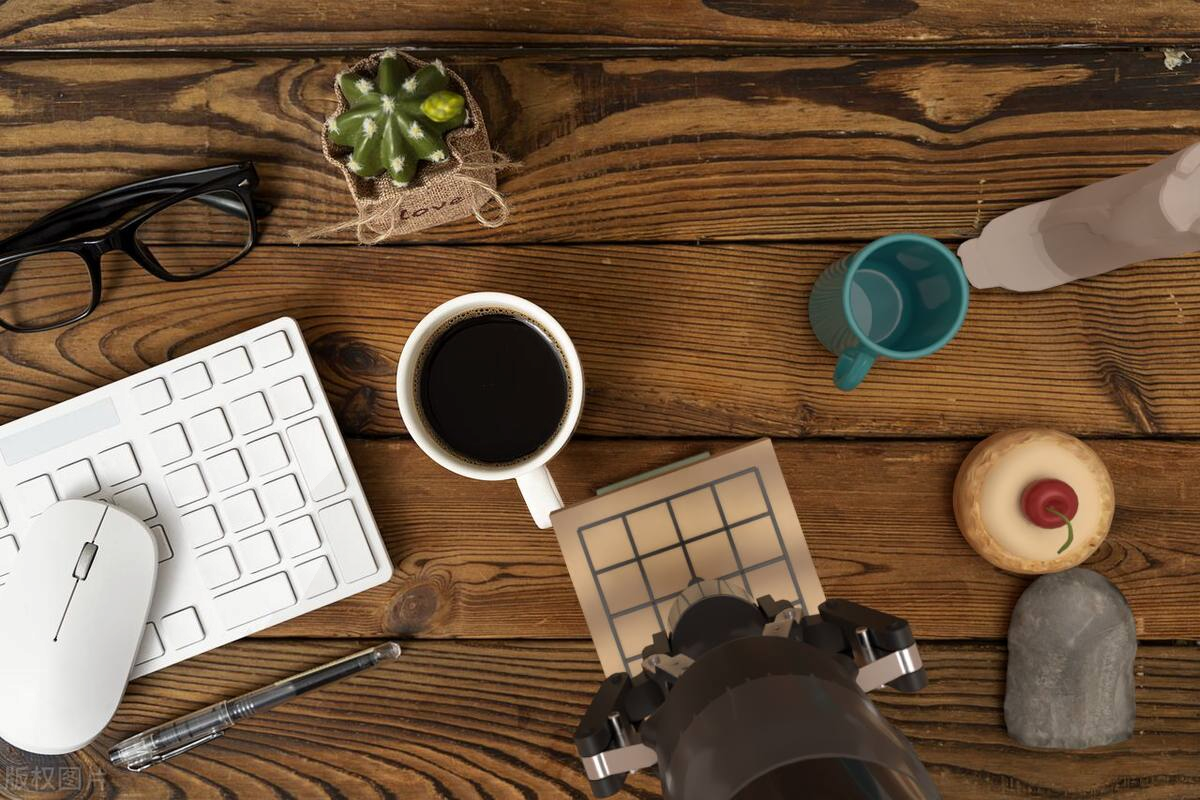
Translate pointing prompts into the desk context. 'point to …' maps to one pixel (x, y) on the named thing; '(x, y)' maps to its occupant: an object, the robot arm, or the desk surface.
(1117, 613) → the stone
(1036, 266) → the beige tapered piece
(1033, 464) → the pastry
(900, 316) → the cup
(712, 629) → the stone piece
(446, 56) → the desk surface
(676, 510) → the board
